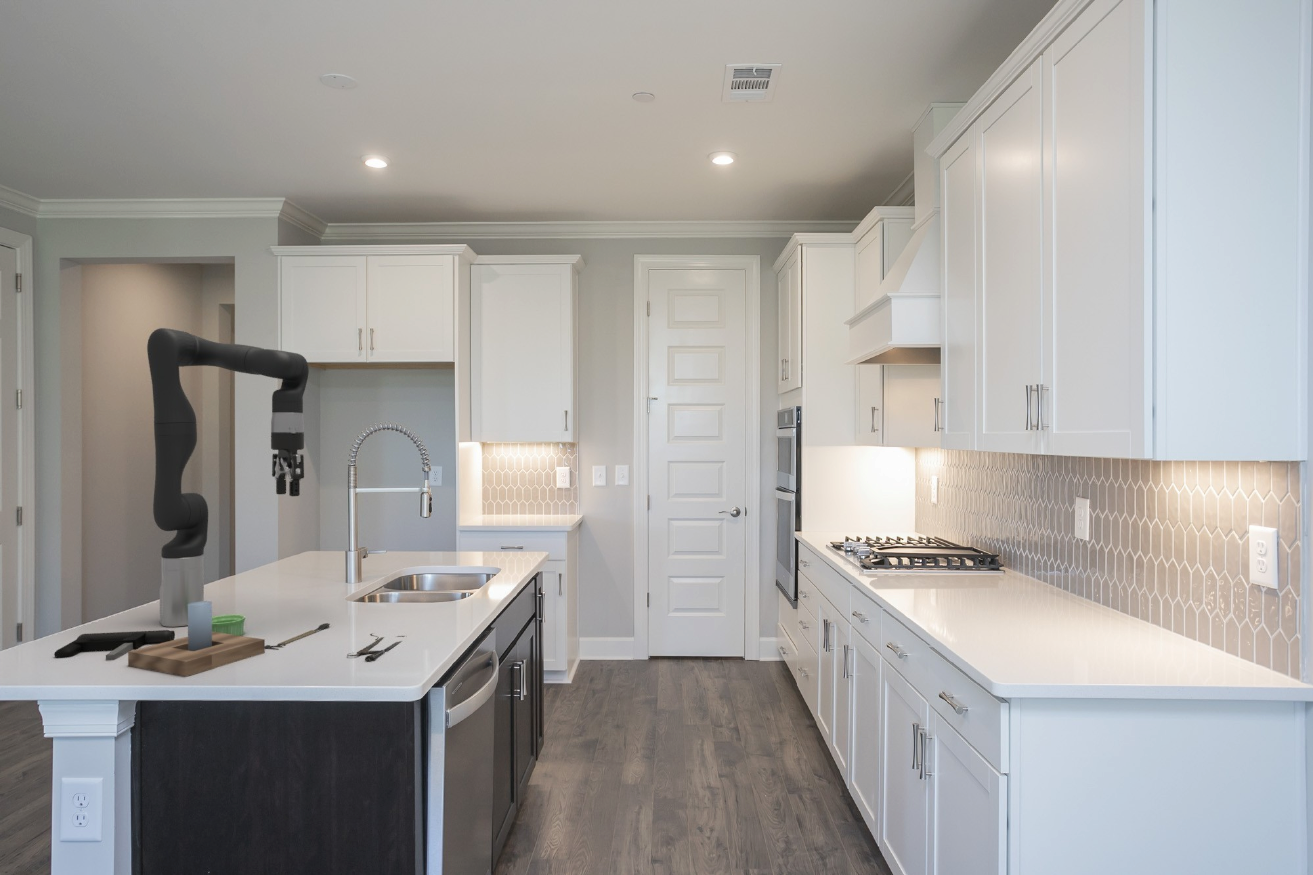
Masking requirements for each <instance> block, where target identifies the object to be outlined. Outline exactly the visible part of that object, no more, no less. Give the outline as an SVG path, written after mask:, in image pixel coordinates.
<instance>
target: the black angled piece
mask: <svg viewBox="0 0 1313 875" xmlns="http://www.w3.org/2000/svg"><path fill="white" fill-rule="evenodd" d="M175 636H176V633H175V630H169V629H161V630H159V629H158V630H142V631H141V630H137V631H118V632H117V631H116V632H113V631H112V632H95V633H93V632H92V633H82V634H80V635H79V636H77V638H76V639H75V640H73V641H70V642H69V643H67V644H65V645H63V646H62V647H61V648H58V649H56V651H54V654H53V655H54V657H55V658H56V659H65V658H71V657H74V656H75V655H77V654H78V653H90V652H91V653H94V652H95V653H96V652H108V653H107V654H105V661H115V660H117V659H119V658H120V657H123V656H124V655H126V654H128V652H129V651H132V650H136V649H140V648H143V647H144V646H146V645H151V644H152V645H156V644H160V643H164V642H168V641H172V640H175V638H176V637H175Z"/></svg>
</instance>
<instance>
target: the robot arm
mask: <svg viewBox="0 0 1313 875" xmlns="http://www.w3.org/2000/svg"><path fill="white" fill-rule="evenodd" d="M146 350H147V351H146V352H147V358H148V360H147V361H148V366H149V367H148V368H149V372H150V377H151V378H150V380H151V386H152V399H153V401H152V402H153V416H154V417H153V430H154V448H155V475H154V477H155V479H154V488H153V489H154V490H153V492H154V493H153V503H152V505H153V508H152V515H153V518H154V522H155V524H156V526H157V527H158V528H159V529H160V530H161V531H163V532H164V531H165V532H172V531H173V532H174V531H176V533H175V534H176V535H175V536H174V537H173V538H172V539H171V540H170V541H169V542H167V543H165V544H164V545H163V546H162V547H161V552H160V553H161V556H160V557H161V562H160V563H161V566H160V567H161V585H160V586H159V624H161V626H163V627H169V628H170V627H173V628H174V627H184V626H188V604H190V603H193V602H201V601H205V598H204V597H205V596H204V595H205V592H204V591H205V590H204V589H205V582H204V581H205V579H204V577H205V574H204V573H205V570H204V569H205V567H204V566H205V565H204V564H205V563H204V562H205V558H204V553H205V552H204V549H205V547H206V545H207V540H208V528H209V526H208V525H209V508H208V503H207V501H206V499H205V497H204V496H203V495H201V494H200V493H198V492H186V493H182V478H183V474H184V471H185V468H186V467H187V466H186V465H187V464H188V462H189V460H190V458H191V457H192V456H193V453H194V451H195V449H196V446H197V442H198V431H197V430H198V428H197V425H198V424H197V417H196V413H195V411H194V408H193V406H192V404H191V402H190V401H189V399H188V396H186V394H185V391H184V389H183V387H182V384H181V378H180V367H182V368H184V367H198V366H199V367H200V366H201V367H202V366H203V367H217V368H221V369H225V370H229V371H233V372H235V373H236V372H237V373H242V374H249V375H258V376H265V377H268V378H273V379H277V380H279V379H280V380H282V381H281V385H280V388H278V389H276V390H274V391H273V392H272V395H271V396H272V397H271V400H272V401H271V411H272V412H271V419H270V449H271V450H272V451H277V453H272V456H271V457H272V458H271V459H272V460H271V464H272V468H271V476H272V477H274V480H275V485H276V486H275V487H276V489H275V491H276V492H275V494H276V495H286V494H287V476H288V479H289V480H288V481H289V482H288V483H289V490H288V494H289V497H299V496H300V494H301V493H300V491H301V488H300V484H301V482H300V481H302V479H304V478H305V465H304V464H305V463H304V461H305V460H304V459H305V457H304V454H299V453H298V451H301V450H304V448H305V422H304V421H305V420H304V414H303V413H304V399H303V398H304V394H305V392H306V391H305V390H306V387H307V383H308V379H309V373H310V371H309V369H310V368H309V364H308V361H307V358H305V357H304V356H303V355H302V354H300V353H296V352H290V351H285V350H279V349H268V348H264V347H263V348H262V347H258V346H253V345H247V344H246V345H245V344H239V343H238V344H237V343H224V342H223V343H222V342H215V341H213V340H209V339H205V338H203V337H200V336H197V335H194V334H192V333H189V332H187V331H184V330H178V329H171V328H167V327H165V328H164V327H163V328H162V327H159V328H157V329H155V330H154V331H152V332H151V334H150V335H149V337H148V340H147V345H146Z"/></svg>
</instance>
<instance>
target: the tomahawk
mask: <svg viewBox="0 0 1313 875" xmlns="http://www.w3.org/2000/svg"><path fill="white" fill-rule="evenodd" d="M330 625H331V624H330V623H328V622H327V623H322V624H320V625H319V626H318V627H317V628H315V629H310V630H309V631H308V630H307V631H306V632H303V633H301V634H298V635H296V636H294V637H291V638H289V639H286V640H284V641H282V642H279V643H277V645H270V644H265V650H274V651H279V650H280V648H285V646H287V645H288V644H291V643H294V642H295V641H297V640H301V639H303V638H306V637H309V636H312V635H313V634H316V633H319V632H321V631H324V630H325V629H326V628H327V627H330Z"/></svg>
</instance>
